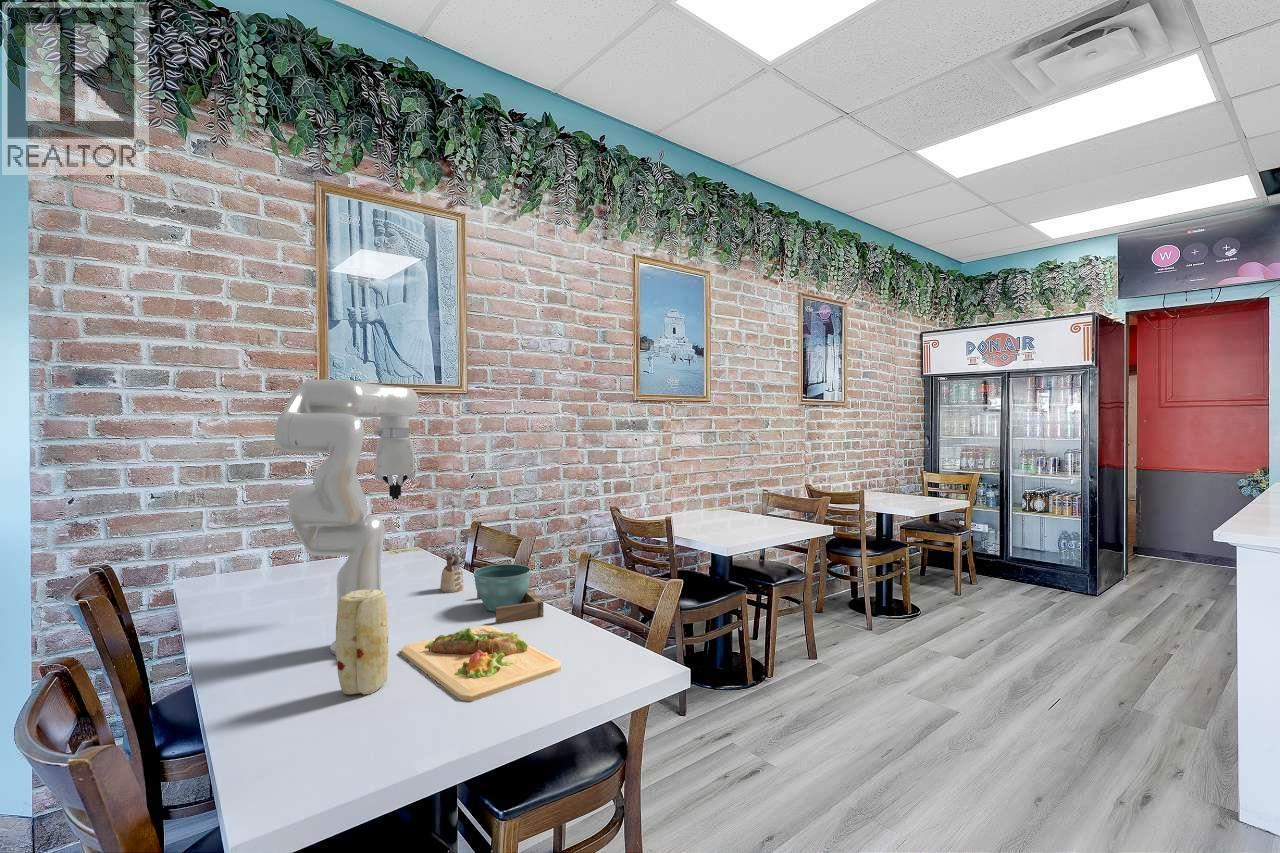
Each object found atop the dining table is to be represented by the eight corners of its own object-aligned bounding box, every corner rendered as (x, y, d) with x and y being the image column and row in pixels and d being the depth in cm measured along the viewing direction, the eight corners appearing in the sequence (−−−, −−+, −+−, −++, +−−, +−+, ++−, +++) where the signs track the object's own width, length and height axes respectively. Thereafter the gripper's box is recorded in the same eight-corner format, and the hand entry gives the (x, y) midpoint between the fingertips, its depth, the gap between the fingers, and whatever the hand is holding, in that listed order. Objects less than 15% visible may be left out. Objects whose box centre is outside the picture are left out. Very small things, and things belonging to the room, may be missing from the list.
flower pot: (471, 602, 177) (471, 566, 176) (526, 597, 182) (526, 561, 182) (476, 619, 161) (475, 579, 161) (535, 612, 167) (535, 574, 167)
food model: (383, 678, 124) (382, 583, 124) (394, 689, 119) (393, 590, 119) (332, 692, 118) (331, 592, 118) (341, 704, 113) (340, 599, 113)
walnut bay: (543, 616, 164) (543, 602, 163) (497, 623, 158) (497, 608, 158) (518, 592, 187) (518, 579, 187) (477, 598, 181) (477, 585, 181)
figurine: (467, 587, 193) (467, 550, 193) (458, 593, 186) (458, 555, 186) (446, 586, 194) (446, 549, 194) (436, 592, 187) (436, 554, 187)
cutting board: (566, 672, 129) (566, 637, 129) (465, 707, 113) (465, 668, 113) (488, 630, 155) (488, 601, 155) (397, 654, 139) (397, 622, 139)
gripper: (366, 435, 162) (366, 502, 162) (424, 434, 168) (424, 498, 168) (365, 434, 168) (365, 499, 168) (421, 434, 175) (421, 495, 175)
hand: (395, 498), depth 168 cm, fingers closed
